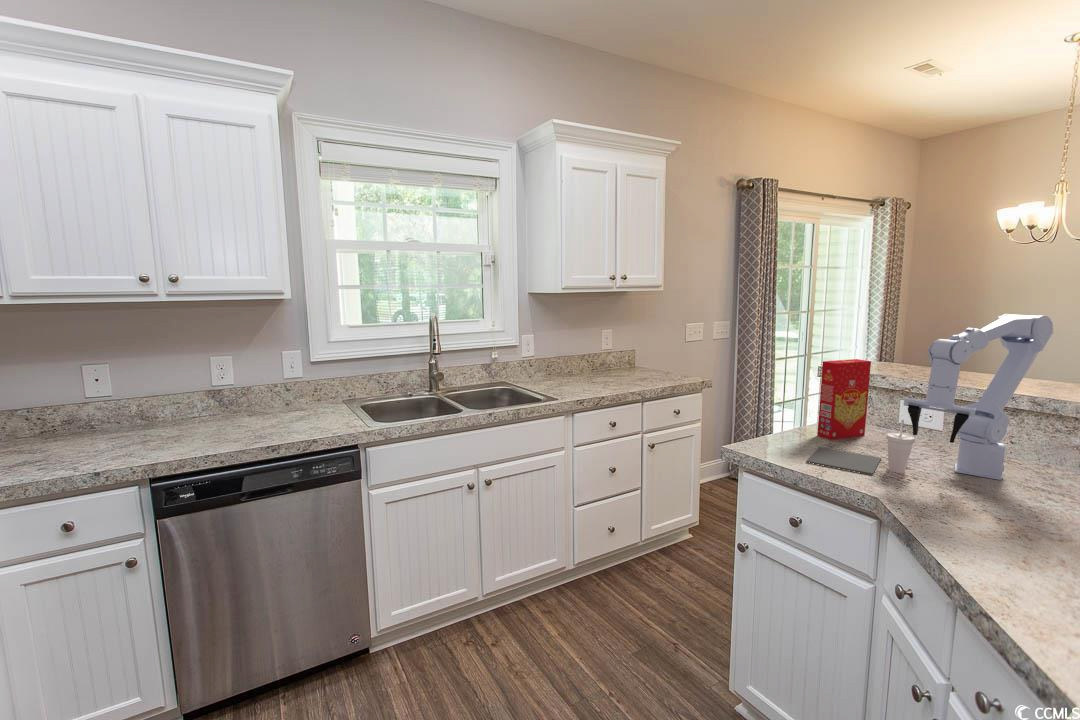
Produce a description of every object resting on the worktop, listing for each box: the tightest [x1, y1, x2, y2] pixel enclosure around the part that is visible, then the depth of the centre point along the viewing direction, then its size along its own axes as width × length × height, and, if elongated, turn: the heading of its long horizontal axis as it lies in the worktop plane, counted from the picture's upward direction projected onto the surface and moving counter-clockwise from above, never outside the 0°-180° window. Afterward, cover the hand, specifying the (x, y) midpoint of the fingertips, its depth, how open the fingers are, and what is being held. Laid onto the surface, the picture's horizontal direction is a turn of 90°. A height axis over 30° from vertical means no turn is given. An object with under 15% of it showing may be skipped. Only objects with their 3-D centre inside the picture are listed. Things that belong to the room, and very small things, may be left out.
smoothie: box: [886, 419, 916, 474], centre depth 139 cm, size 6×6×14 cm
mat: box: [805, 446, 882, 476], centre depth 148 cm, size 16×16×1 cm
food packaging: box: [816, 358, 872, 441], centre depth 171 cm, size 15×5×25 cm, turn 109°
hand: (933, 438), depth 134 cm, fingers open, 7 cm apart
